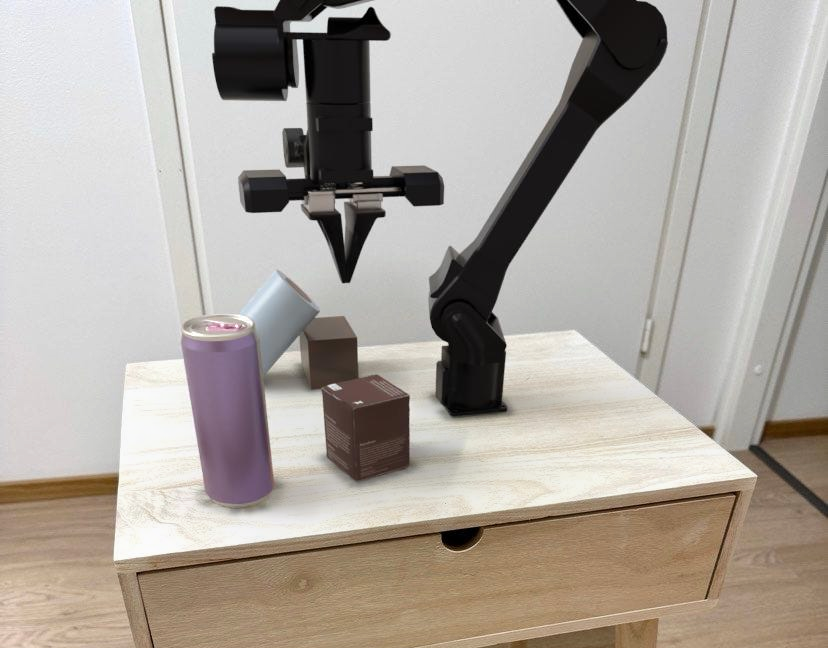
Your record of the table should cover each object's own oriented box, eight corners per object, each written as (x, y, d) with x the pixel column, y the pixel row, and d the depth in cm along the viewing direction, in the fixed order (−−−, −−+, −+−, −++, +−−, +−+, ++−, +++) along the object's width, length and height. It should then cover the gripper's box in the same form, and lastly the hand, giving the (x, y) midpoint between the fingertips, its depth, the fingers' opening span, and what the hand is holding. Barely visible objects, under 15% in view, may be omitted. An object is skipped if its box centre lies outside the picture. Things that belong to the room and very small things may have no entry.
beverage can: (260, 514, 64) (239, 339, 55) (194, 506, 65) (164, 333, 56) (284, 480, 69) (268, 315, 60) (222, 473, 70) (198, 310, 61)
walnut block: (346, 361, 94) (344, 315, 91) (358, 385, 87) (357, 337, 84) (301, 364, 93) (297, 318, 89) (310, 389, 86) (307, 340, 83)
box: (411, 468, 71) (412, 394, 67) (354, 484, 68) (352, 408, 64) (378, 443, 75) (377, 372, 71) (324, 457, 72) (320, 385, 68)
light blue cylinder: (319, 365, 92) (312, 261, 85) (327, 384, 87) (321, 276, 80) (217, 373, 90) (202, 267, 83) (219, 394, 85) (203, 282, 78)
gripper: (414, 95, 76) (412, 258, 84) (224, 96, 71) (243, 267, 80) (448, 104, 67) (442, 284, 76) (235, 105, 62) (255, 297, 71)
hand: (345, 282), depth 76 cm, fingers closed
